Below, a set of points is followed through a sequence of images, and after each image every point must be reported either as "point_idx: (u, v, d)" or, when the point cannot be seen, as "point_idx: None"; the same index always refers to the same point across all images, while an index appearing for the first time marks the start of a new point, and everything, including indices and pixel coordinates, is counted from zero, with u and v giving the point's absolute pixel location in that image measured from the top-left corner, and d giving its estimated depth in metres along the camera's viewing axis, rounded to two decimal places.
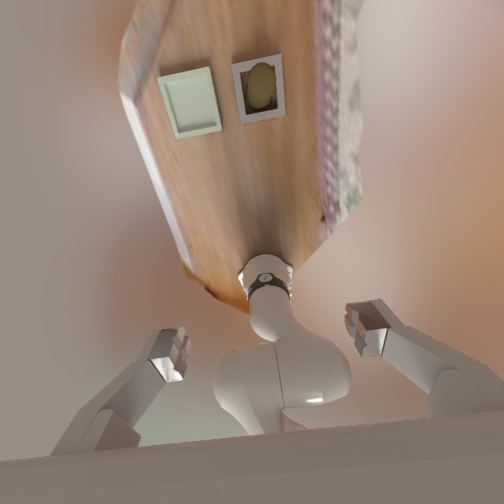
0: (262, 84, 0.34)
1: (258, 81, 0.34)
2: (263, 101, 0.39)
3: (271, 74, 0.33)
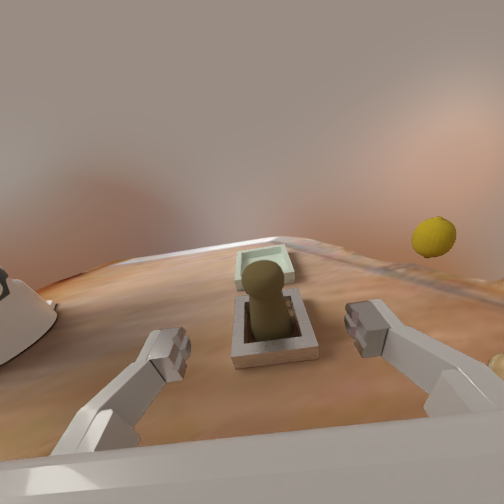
0: (254, 267, 0.23)
1: (258, 263, 0.23)
2: None
3: (265, 276, 0.21)
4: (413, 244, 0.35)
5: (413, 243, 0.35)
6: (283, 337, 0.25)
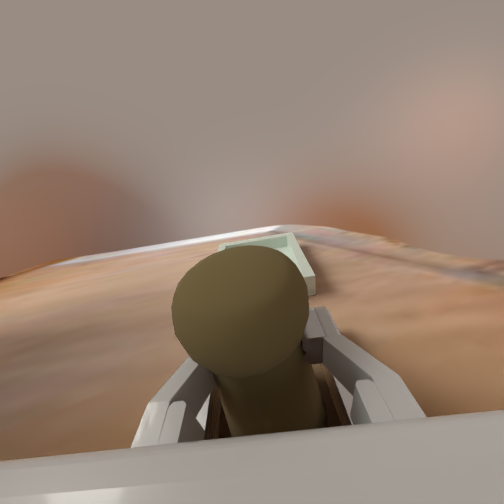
0: (212, 267, 0.07)
1: (227, 255, 0.08)
2: None
3: (243, 300, 0.05)
4: None
5: None
6: None
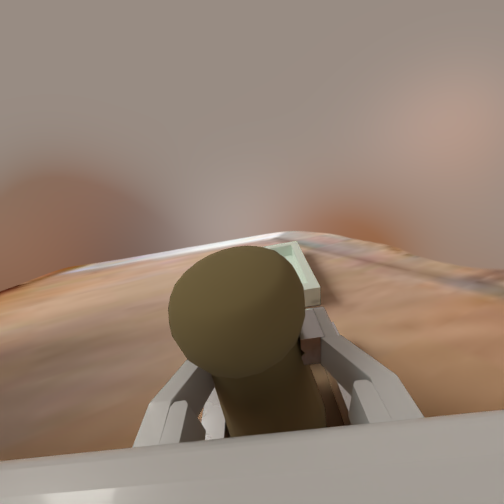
0: (208, 268, 0.07)
1: (223, 256, 0.08)
2: None
3: (237, 301, 0.05)
4: None
5: None
6: None
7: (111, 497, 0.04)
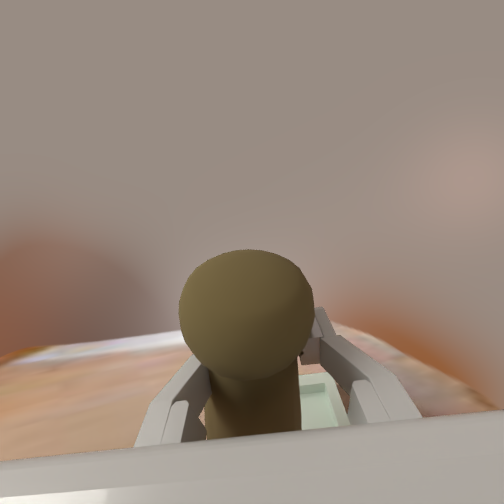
0: (226, 267, 0.07)
1: (240, 257, 0.08)
2: None
3: (260, 305, 0.06)
4: None
5: None
6: None
7: (111, 497, 0.04)
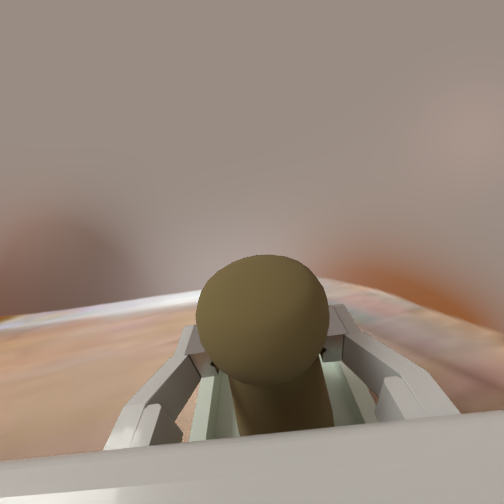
0: (235, 277, 0.07)
1: (249, 265, 0.08)
2: None
3: (272, 312, 0.06)
4: None
5: None
6: None
7: (111, 497, 0.04)
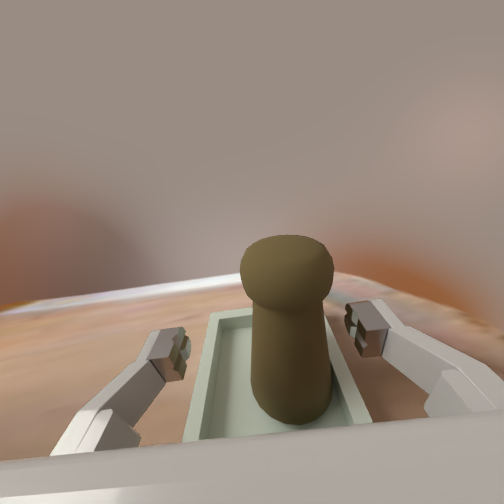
0: (271, 242, 0.10)
1: (277, 237, 0.11)
2: (253, 328, 0.12)
3: (302, 256, 0.09)
4: None
5: None
6: (322, 398, 0.12)
7: (111, 497, 0.04)
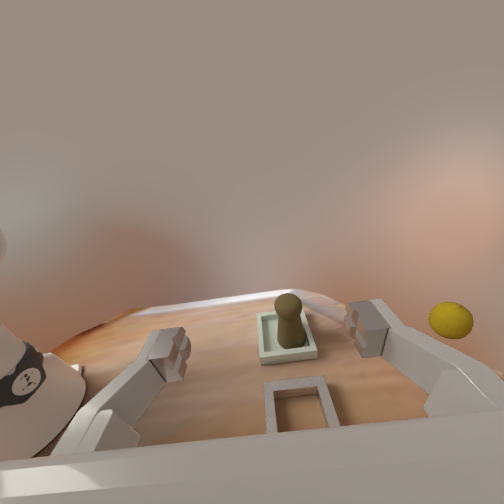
0: (283, 300, 0.36)
1: (285, 297, 0.36)
2: (279, 323, 0.38)
3: (292, 306, 0.34)
4: (430, 323, 0.36)
5: (430, 323, 0.36)
6: (301, 342, 0.38)
7: (111, 497, 0.04)
